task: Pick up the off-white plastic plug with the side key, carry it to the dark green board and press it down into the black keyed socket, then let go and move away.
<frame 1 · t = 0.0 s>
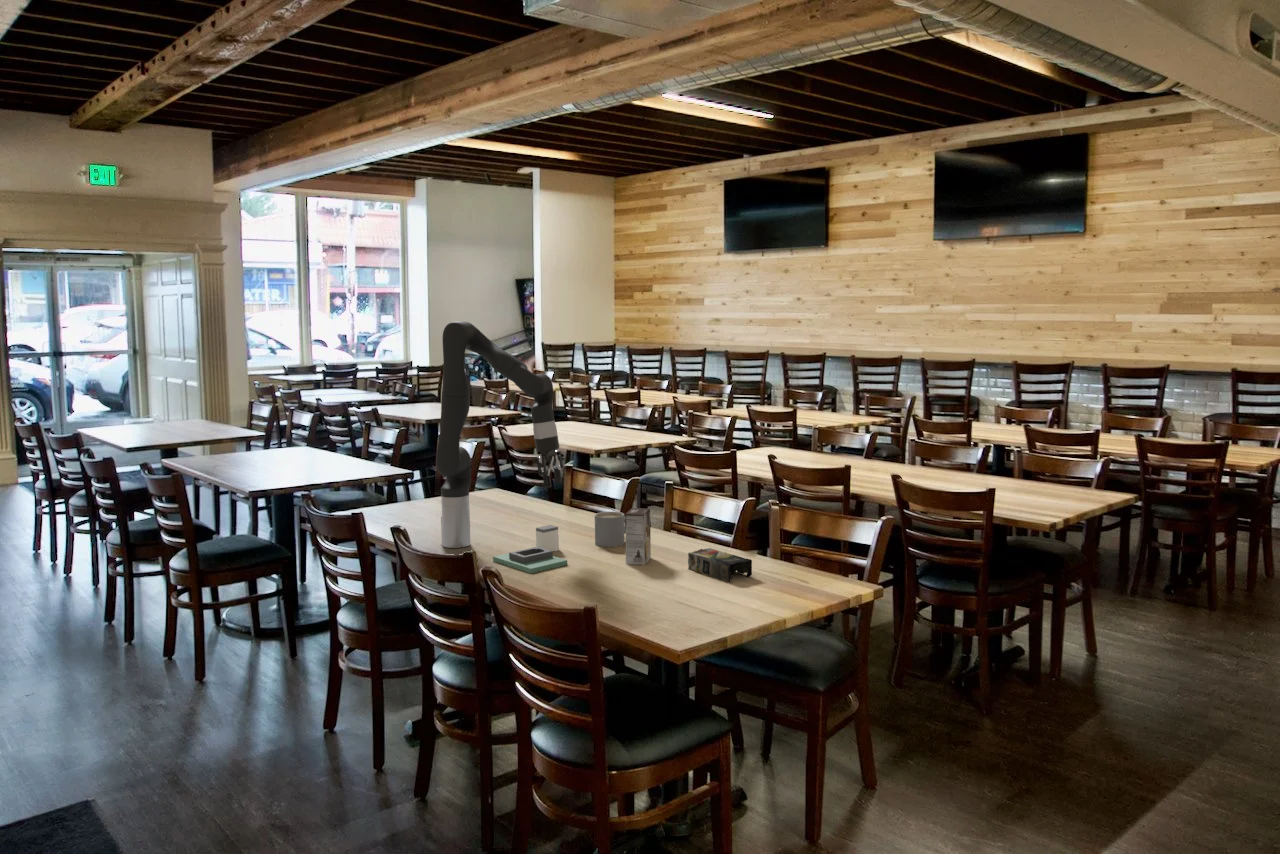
hand: (553, 485, 315), 22 cm above the table, tool pointing down, fingers open, 8 cm apart
coffee box: (638, 561, 307), on the table
header board: (529, 563, 306), on the table
juice carton: (719, 574, 293), on the table
coffee mug: (614, 543, 330), on the table
plug: (547, 551, 320), on the table
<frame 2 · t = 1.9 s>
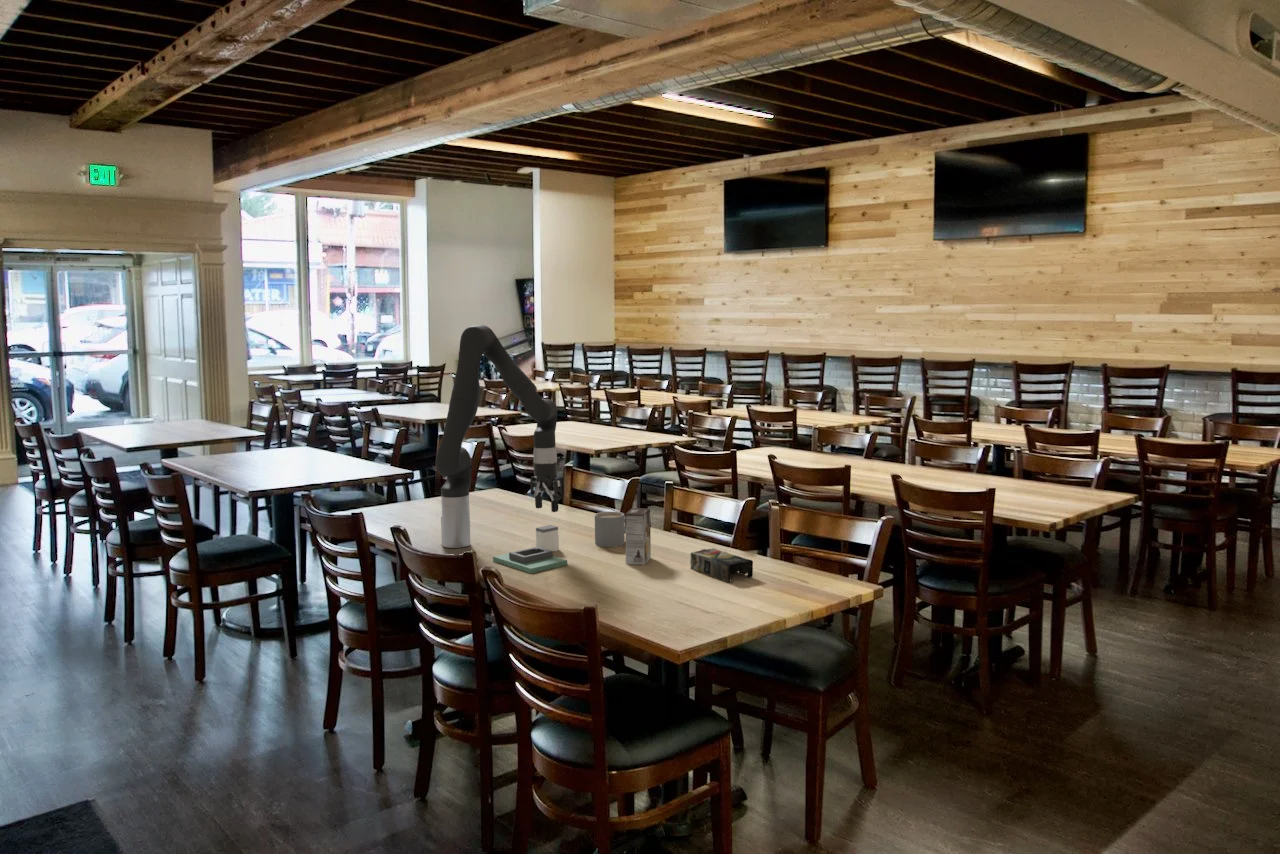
hand: (546, 509, 318), 14 cm above the table, tool pointing down, fingers open, 8 cm apart
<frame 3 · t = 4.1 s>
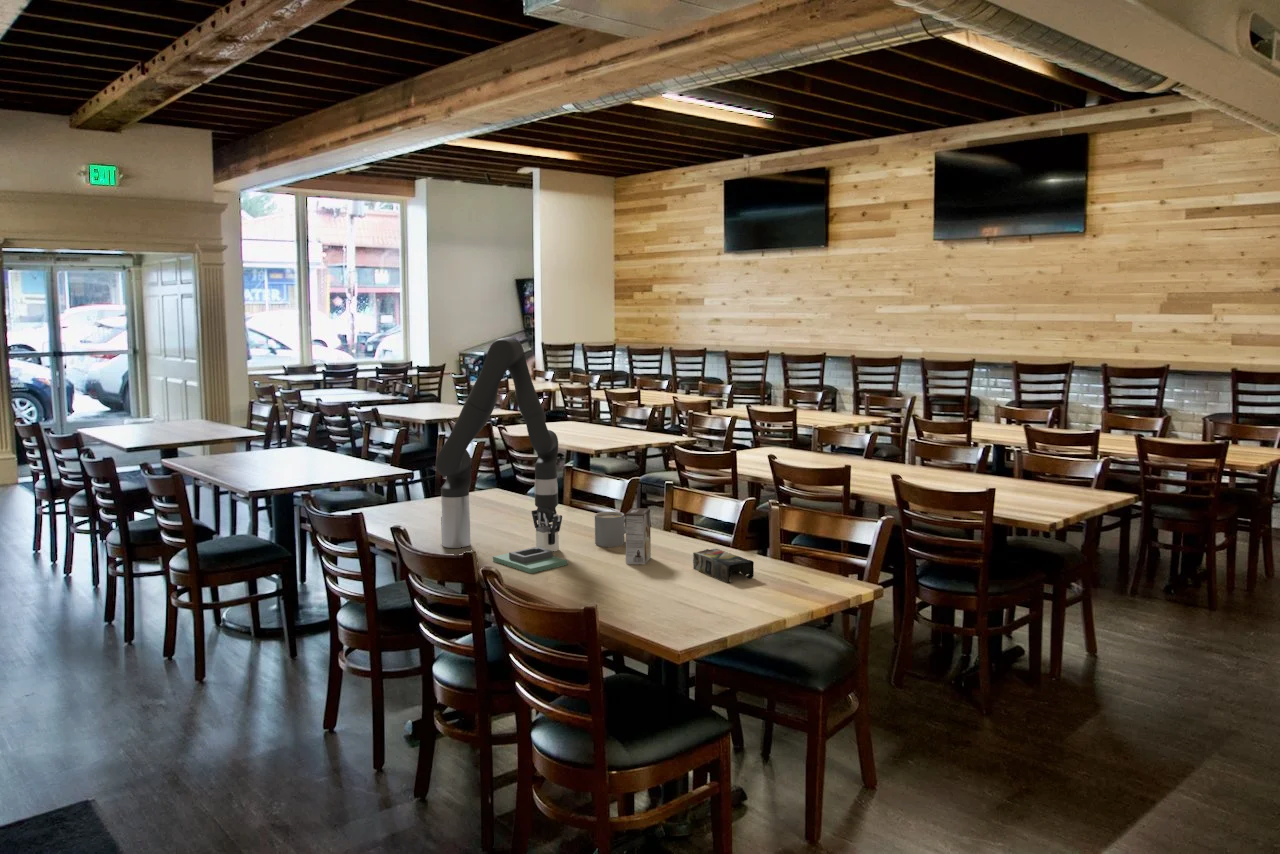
hand: (547, 542, 320), 3 cm above the table, tool pointing down, fingers closed on plug, 4 cm apart
plug: (547, 551, 320), on the table, touching gripper
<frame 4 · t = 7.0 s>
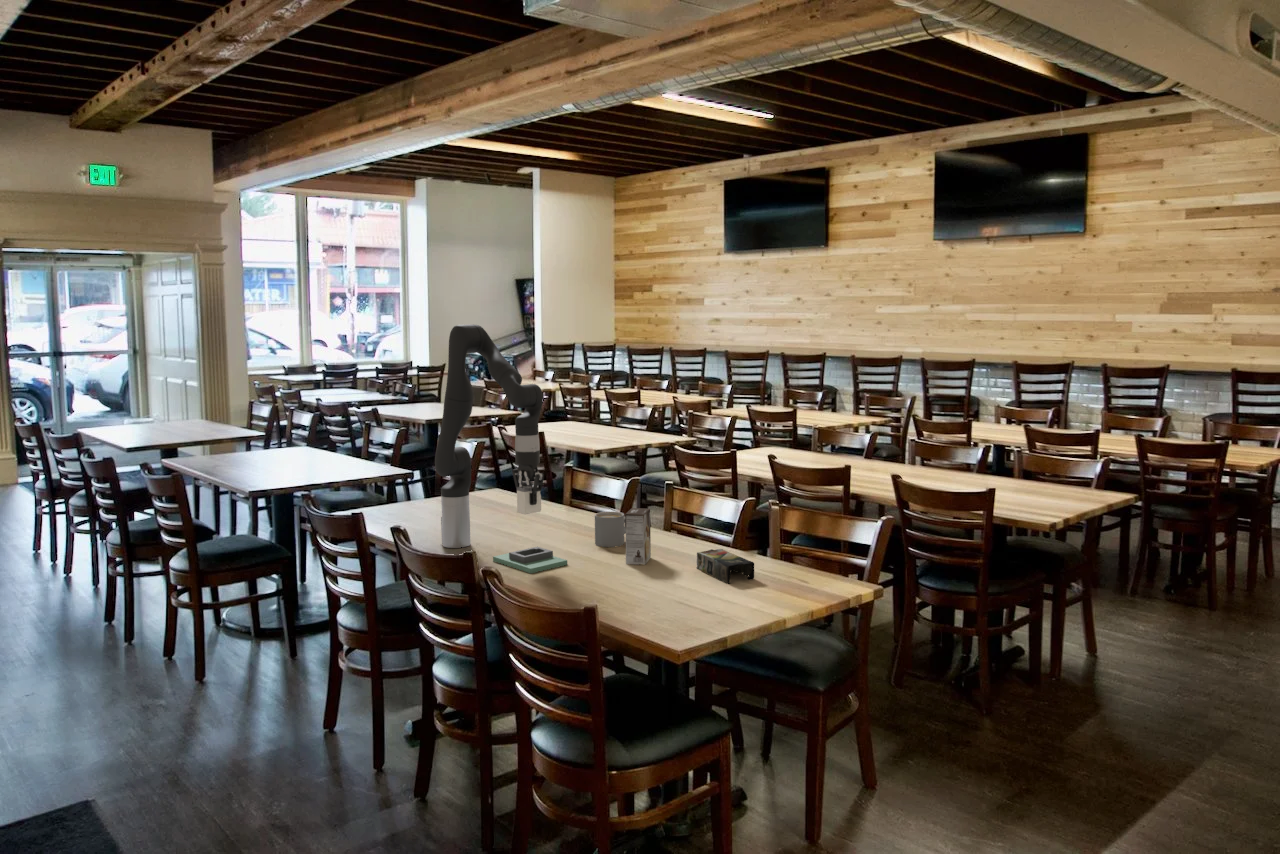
hand: (528, 503, 303), 19 cm above the table, tool pointing down, fingers closed on plug, 4 cm apart
plug: (529, 511, 304), point 16 cm above the table, touching gripper
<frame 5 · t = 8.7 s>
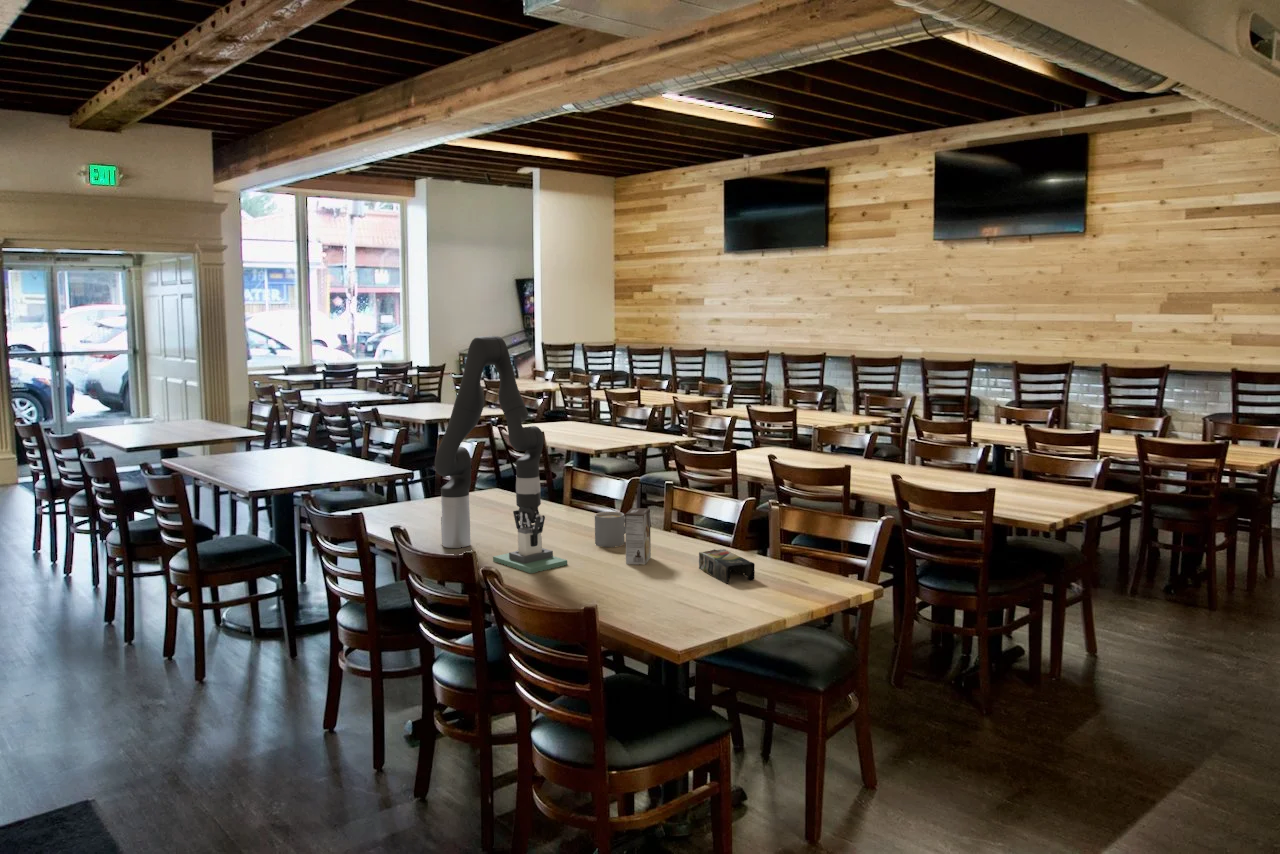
hand: (529, 544, 305), 6 cm above the table, tool pointing down, fingers closed on plug, 4 cm apart
plug: (530, 553, 305), point 3 cm above the table, touching gripper
when the fingers open (5 cm above the table, at t = 10.0 s): plug stays where it is, resting on header board.
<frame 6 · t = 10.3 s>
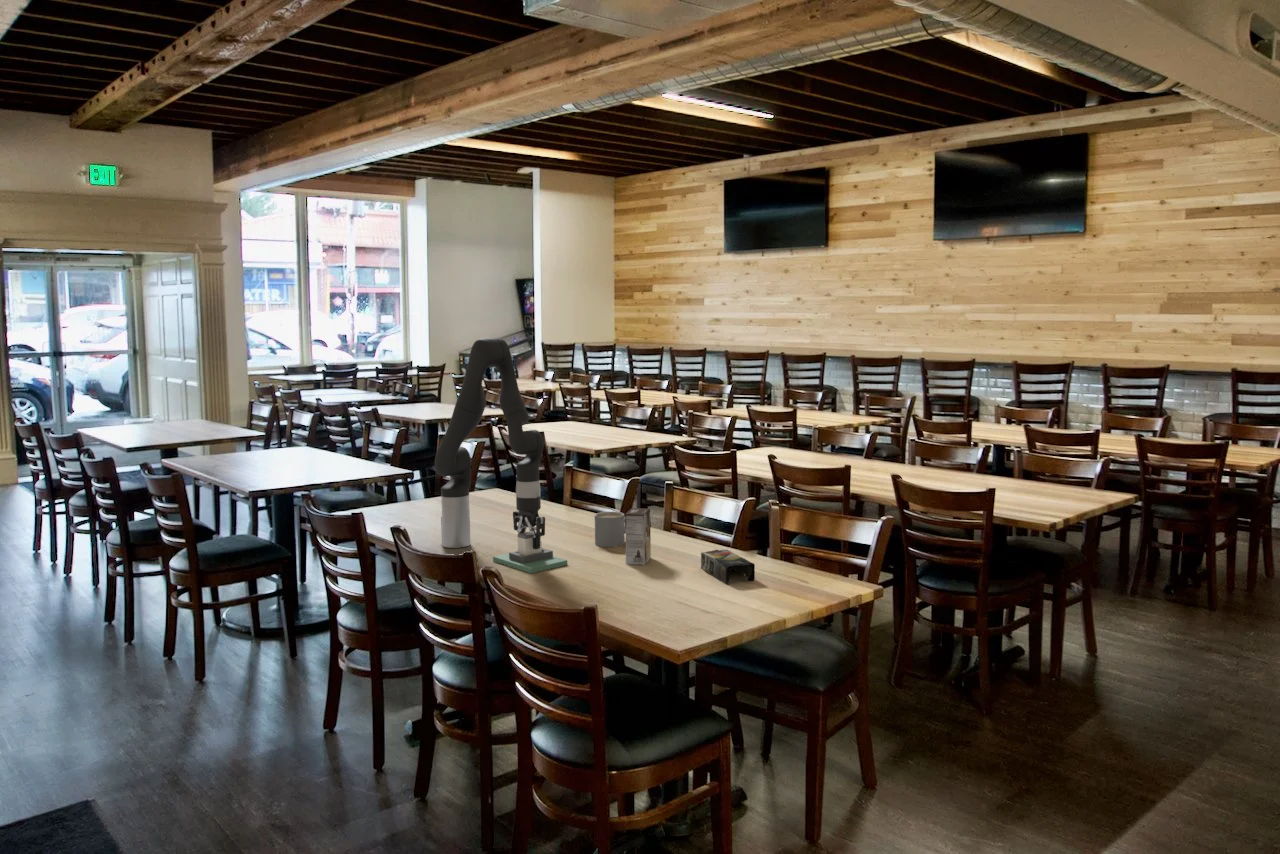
hand: (529, 546, 305), 5 cm above the table, tool pointing down, fingers open, 6 cm apart
plug: (529, 558, 305), point 1 cm above the table, touching header board
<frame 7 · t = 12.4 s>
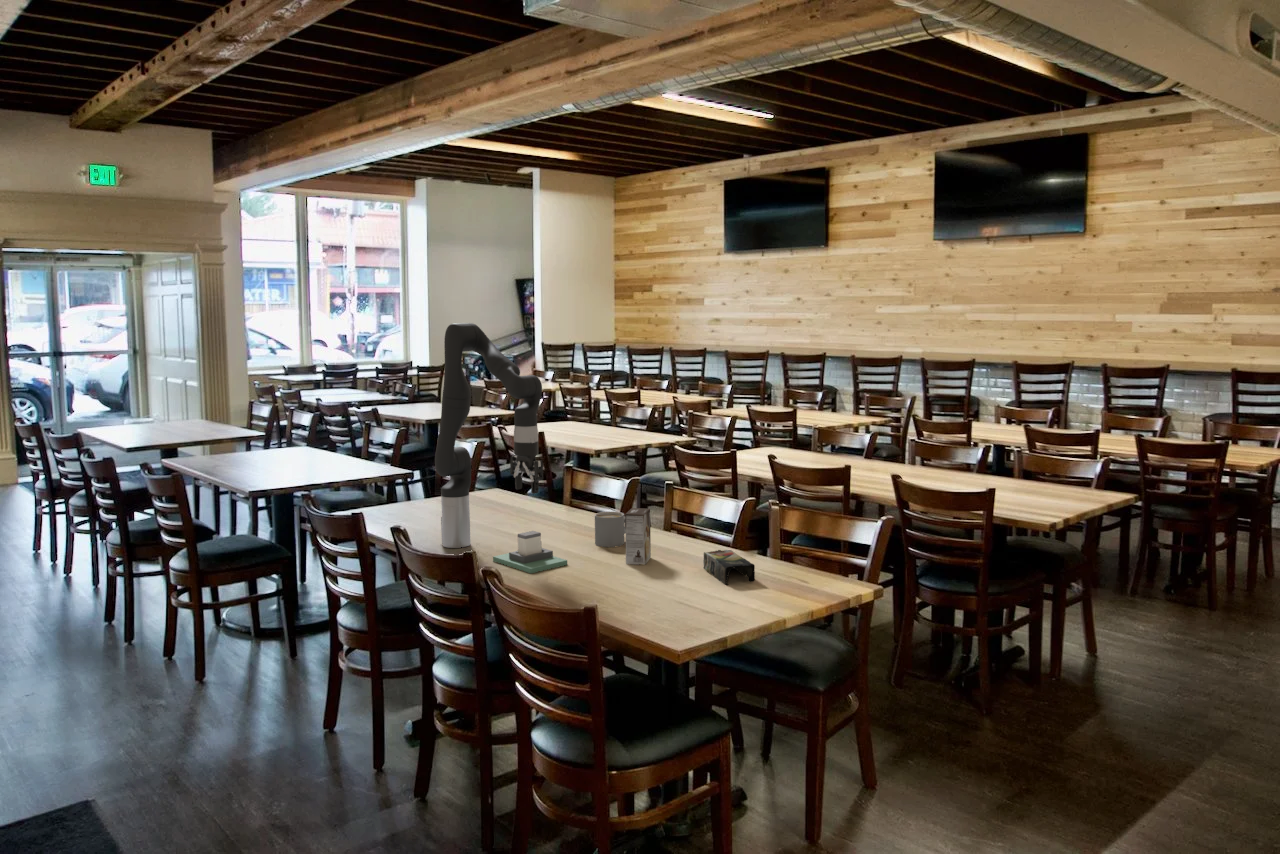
hand: (526, 491, 304), 23 cm above the table, tool pointing down, fingers open, 8 cm apart
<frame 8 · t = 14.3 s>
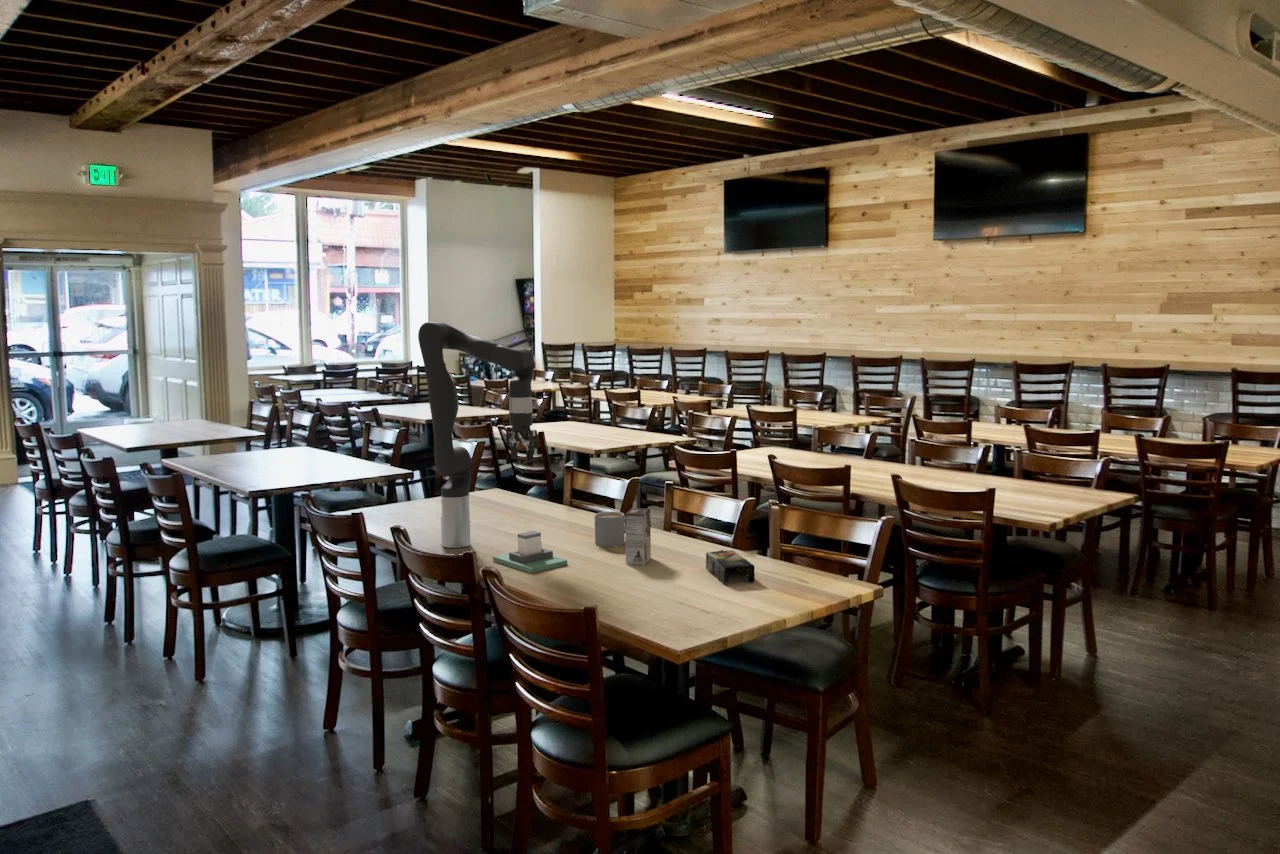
hand: (522, 460, 317), 30 cm above the table, tool pointing down, fingers open, 8 cm apart
at the end: plug 0.1 cm off-centre on the header board, point 1.5 cm above the header board's base; plug tilted 0°; the gripper is holding nothing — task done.
